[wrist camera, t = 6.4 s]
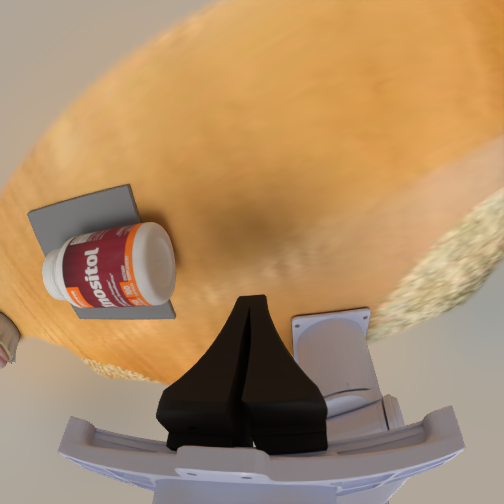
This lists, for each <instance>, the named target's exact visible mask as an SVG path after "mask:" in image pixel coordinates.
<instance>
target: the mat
mask: <svg viewBox="0 0 504 504" xmlns="http://www.w3.org/2000/svg"><path fill="white" fill-rule="evenodd" d="M27 215H28V218H29V220H30V223H31V225H32V228H33V230H34V233H35V235H36V237H37V240H38V242H39V244H40V246H41V248H42V251H43V253H44V255H45V257H46V256H47V255H48V254H49V252H51V251H52V250H54V249H58V248H62V246H63V245H64V243H65V242H66V241H68V240H69V239H70V238H72V237H75V236H79V235H83V234H88V233H93V232H98V231H103V230H108V229H113V228H118V227H124V226H129V225H134V224H139V223H141V219H140V216H139V213H138V210H137V207H136V204H135V200H134V197H133V194H132V190H131V187H130V184H127V185H122V186H118V187H114V188H110V189H106V190H102V191H98V192H94V193H90V194H87V195H83V196H79V197H76V198H72V199H69V200H65V201H62V202H58V203H55V204H52V205H49V206H45V207H42V208H39V209H36V210H33V211H30V212H29V213H27ZM70 304H71V303H70ZM71 306H72V307H73V309H74V311H75V312H76V314H77V315H78V317H79V319H123V320H133V319H175V317H176V314H175V312H174V309H173V307H172V304H171V302H170V299H169V300H168V301H167V302H166V303H164V304H162V305H155V306H137V307H110V308H79V307H76V306H74V305H73V304H71Z"/></svg>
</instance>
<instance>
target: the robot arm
mask: <svg viewBox="0 0 504 504" xmlns="http://www.w3.org/2000/svg"><path fill="white" fill-rule="evenodd" d="M370 314H371V312H370V309H368V308H364V309H357V310H350V311H342V312H334V313H326V314H317V315H308V316H298V317H294V318H293V319H292V333H293V350H294V359H293V358H292V356H291V355H290V353H289V352H288V350H287V349H286V347H285V345H284V344H283V342H282V340H281V338H280V337H279V335H278V333H277V331H276V328H275V326H274V324H273V321H272V319H271V316H270V314H269V310H268V305H267V298H266V296H265V295H252V296H239V297H238V299H237V301H236V303H235V306H234V308H233V310H232V312H231V314H230V316H229V318H228V320H227V322H226V323H225V325H224V327H223V329H222V330H221V332H220V333H219V335H218V336H217V338H216V339H215V341H214V342H213V344H212V345H211V346H210V348H209V349H208V350H207V351H206V353H205V354H204V355H203V356H202V357H201V358H200V360H199V361H198V362H197V363H196V364H195V365H194V366H193V367H192V368H191V369H190V370H189V371H188V372H186V373H185V374H184V375H183V376H182V377H181V378H180V379H179V380H177V381H176V382H175V383H173V384H172V385H171V386H169V387H168V388H166V389H165V390H164V391H163V394H162V396H161V399H160V401H159V405H158V409H157V413H156V418H157V420H158V421H159V422H160V424H162V426H164V427H165V429H166V430H167V431H168V432H169V434H168V439H167V442H163V441H156V440H150V439H144V438H138V437H133V436H128V435H123V434H118V433H114V432H110V431H105V430H101V429H98V428H95V426H93V425H92V424H91V423H90V422H88V421H86V420H83V419H79V418H76V417H72V416H71V417H70V419H69V421H68V424H67V427H66V429H65V432H64V435H63V438H62V441H61V443H60V446H59V449H58V453H60V454H61V455H62V456H64V457H66V458H67V459H69V460H71V461H72V462H74V463H76V464H77V465H79V466H81V467H83V468H84V469H87V470H90V471H92V472H95V473H98V474H101V475H103V476H106V477H109V478H112V479H115V480H118V481H121V482H124V483H128V484H131V485H134V486H138V487H141V488H145V489H149V490H152V491H155V492H154V498H153V504H389V501H388V500H389V499H390V498H391V497H392V496H393V495H394V494H395V492H397V490H398V489H399V488H400V487H401V486H402V485H403V484H404V483H405V482H406V481H407V479H408V478H409V477H412V476H415V475H418V474H421V473H423V472H426V471H429V470H431V469H434V468H437V467H439V466H441V465H443V464H445V463H446V462H448V461H449V460H450V459H452V458H453V457H455V456H456V455H458V454H459V453H460V452H461V451H463V450H464V449H465V445H464V441H463V438H462V434H461V431H460V428H459V425H458V422H457V419H456V416H455V413H454V410H453V407H452V406H447V407H444V408H442V409H439V410H436V411H433V412H431V413H429V414H427V415H426V416H425V417H424V419H423V420H422V421H420V422H417V423H413V424H410V425H406V426H405V424H404V420H403V417H402V413H401V410H400V406H399V403H398V400H397V398H395V397H393V396H392V397H391V395H389V394H388V395H386V396H384V397H383V396H382V394H381V392H380V389H379V385H378V381H377V378H376V374H375V371H374V367H373V363H372V360H371V356H370V353H369V350H368V346H367V343H366V340H365V339H366V334H367V329H368V325H369V320H370ZM364 316H365V317H364ZM296 324H299V325H296ZM253 442H254V444H255V446H256V447H253Z"/></svg>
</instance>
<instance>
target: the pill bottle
mask: <svg viewBox="0 0 504 504" xmlns="http://www.w3.org/2000/svg"><path fill="white" fill-rule="evenodd" d="M43 280H44V284H45V287H46V289H47V291H48V292H49V293H50V295H51V296H52V297H54V298H55V299H58V300H68V301H69V302H70V303H71V304H73V305H74V306H76V307H79V308H110V307H137V306H155V305H162V304H164V303H166V302H167V301H168V300H169V299H170V297H171V295H172V293H173V291H174V288H175V281H176V266H175V257H174V252H173V247H172V244H171V241H170V238H169V236H168V234H167V232H166V231H165V230H164V228H163V227H162V226H160V225H159V224H157V223H155V222H145V223H139V224H134V225H129V226H124V227H118V228H113V229H108V230H103V231H98V232H93V233H88V234H83V235H79V236H75V237H72V238H70V239H69V240H68V241H66V242H65V243H64V245H63V246H62V248H58V249H54V250H52V251H51V252H49V254H48V255H47V256H46V258H45V260H44V264H43Z"/></svg>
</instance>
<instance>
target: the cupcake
mask: <svg viewBox="0 0 504 504" xmlns="http://www.w3.org/2000/svg"><path fill="white" fill-rule="evenodd" d="M19 339H20V334H19V331H18V329H17V328H16V326H15V325H14V324H13V323H12V321H11V320H10V319H9V318H7V317H6V316H5V315H4V314H2V313H0V368H3V367H5V366H6V363H7V362H9V363H11V364H12V362H15V357H16V355H15V354H16V349H17V345H18V342H19Z"/></svg>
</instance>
